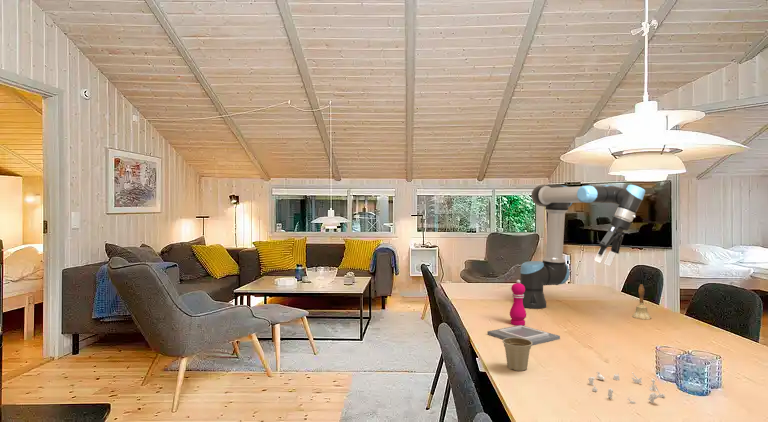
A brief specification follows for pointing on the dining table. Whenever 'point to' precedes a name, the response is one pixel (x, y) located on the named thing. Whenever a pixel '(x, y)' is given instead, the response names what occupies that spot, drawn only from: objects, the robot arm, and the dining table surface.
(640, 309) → the hand bell
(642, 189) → the robot arm
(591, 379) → the game piece set
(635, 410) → the dining table surface
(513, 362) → the flower pot
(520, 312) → the pepper mill
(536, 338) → the plate
